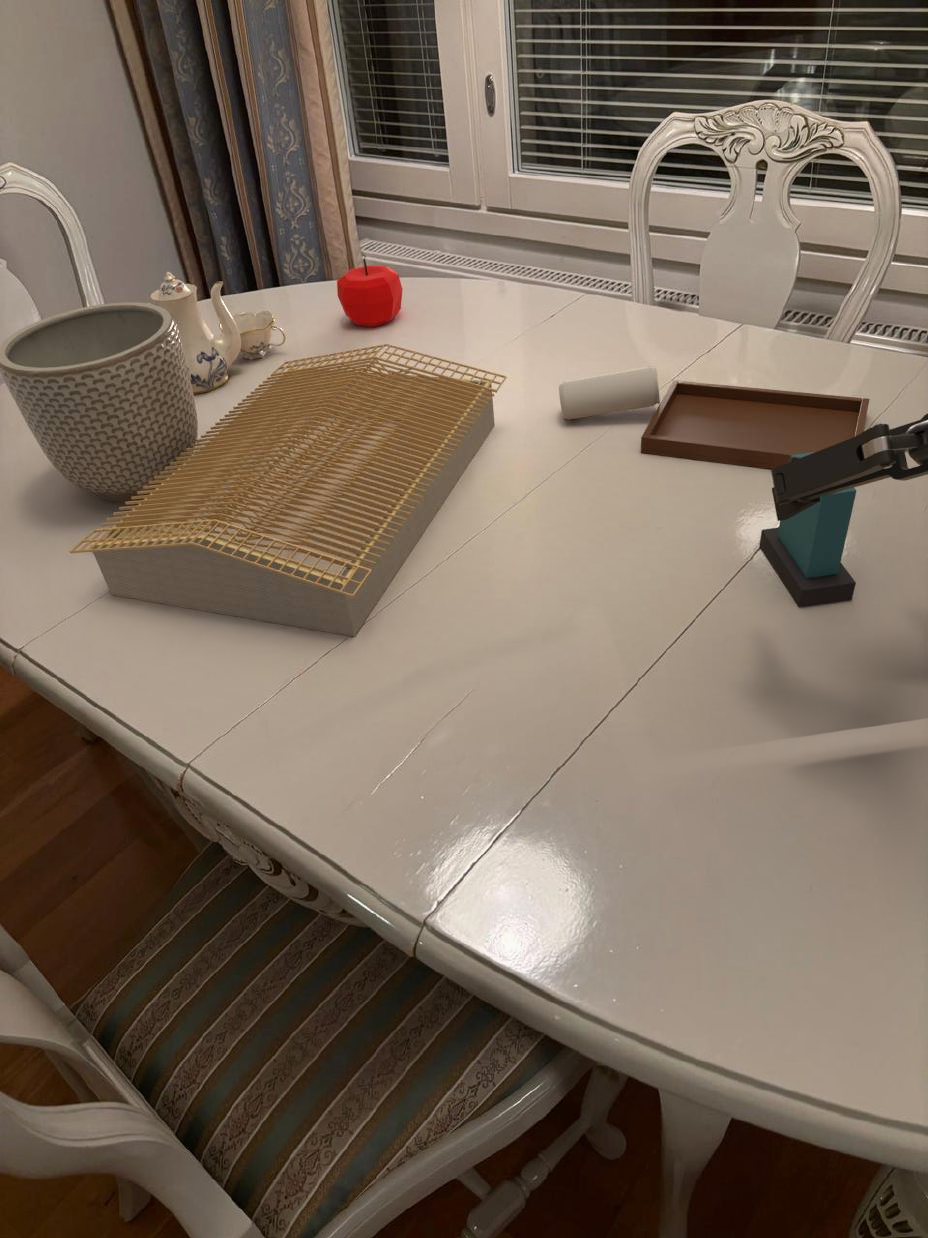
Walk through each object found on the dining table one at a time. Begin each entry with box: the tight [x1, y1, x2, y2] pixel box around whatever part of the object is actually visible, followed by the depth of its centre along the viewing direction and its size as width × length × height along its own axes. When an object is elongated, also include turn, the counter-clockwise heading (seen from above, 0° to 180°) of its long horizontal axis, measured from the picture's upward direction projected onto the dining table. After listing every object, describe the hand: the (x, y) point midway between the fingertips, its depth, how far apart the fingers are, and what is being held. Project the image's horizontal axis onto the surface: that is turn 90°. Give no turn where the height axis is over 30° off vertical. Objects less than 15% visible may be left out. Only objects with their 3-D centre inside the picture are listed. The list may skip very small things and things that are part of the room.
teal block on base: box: [759, 452, 857, 608], centre depth 81 cm, size 5×10×11 cm, turn 6°
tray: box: [640, 379, 871, 470], centre depth 105 cm, size 24×16×2 cm, turn 66°
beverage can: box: [558, 366, 661, 421], centre depth 111 cm, size 5×5×12 cm
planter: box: [0, 301, 199, 504], centre depth 105 cm, size 20×20×19 cm
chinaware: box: [147, 271, 287, 395], centre depth 130 cm, size 28×17×17 cm, turn 111°
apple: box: [336, 252, 403, 328], centre depth 143 cm, size 11×11×10 cm
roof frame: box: [69, 343, 508, 638], centre depth 100 cm, size 45×32×10 cm
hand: (861, 492), depth 72 cm, fingers open, 13 cm apart
